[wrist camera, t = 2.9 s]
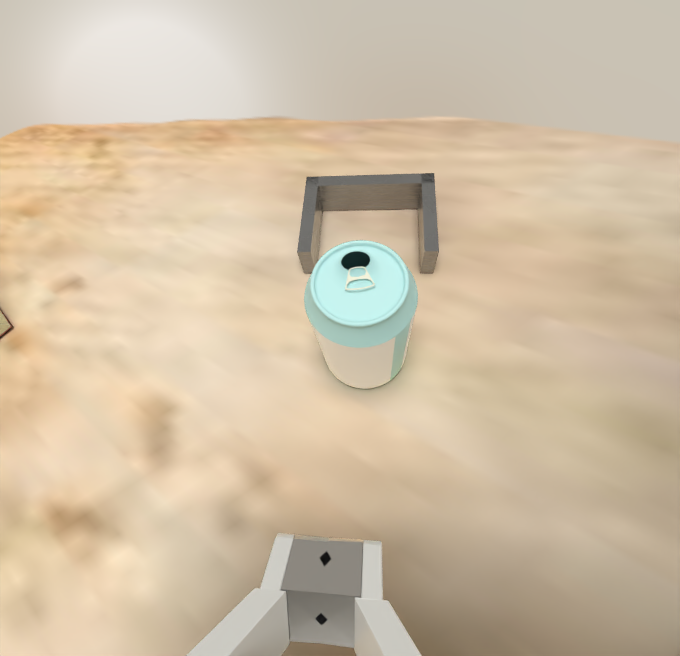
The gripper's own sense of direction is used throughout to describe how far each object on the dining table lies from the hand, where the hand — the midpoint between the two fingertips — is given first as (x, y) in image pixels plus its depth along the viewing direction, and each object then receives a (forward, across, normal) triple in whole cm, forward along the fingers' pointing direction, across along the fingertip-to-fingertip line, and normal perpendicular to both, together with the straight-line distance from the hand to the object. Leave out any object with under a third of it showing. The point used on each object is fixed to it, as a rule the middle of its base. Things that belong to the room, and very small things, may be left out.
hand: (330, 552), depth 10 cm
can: (+22, 0, +3) cm, 22 cm away
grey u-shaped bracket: (+30, 0, -6) cm, 31 cm away
